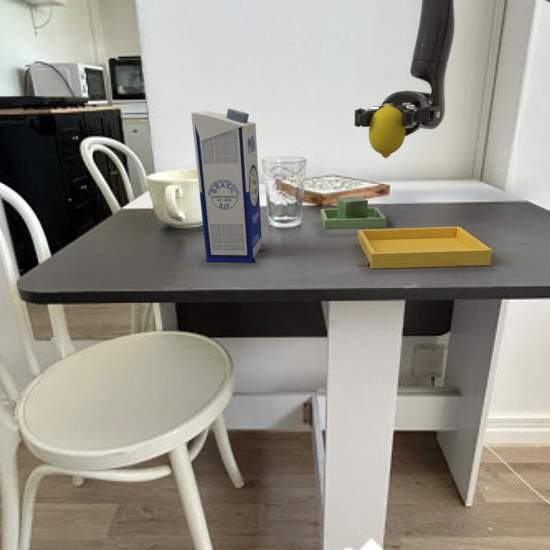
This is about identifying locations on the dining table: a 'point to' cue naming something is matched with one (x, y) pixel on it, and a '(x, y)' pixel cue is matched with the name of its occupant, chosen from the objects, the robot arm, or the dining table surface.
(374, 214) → the green tray
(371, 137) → the lemon
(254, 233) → the milk carton
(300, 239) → the dining table surface
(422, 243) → the yellow tray
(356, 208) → the green block
